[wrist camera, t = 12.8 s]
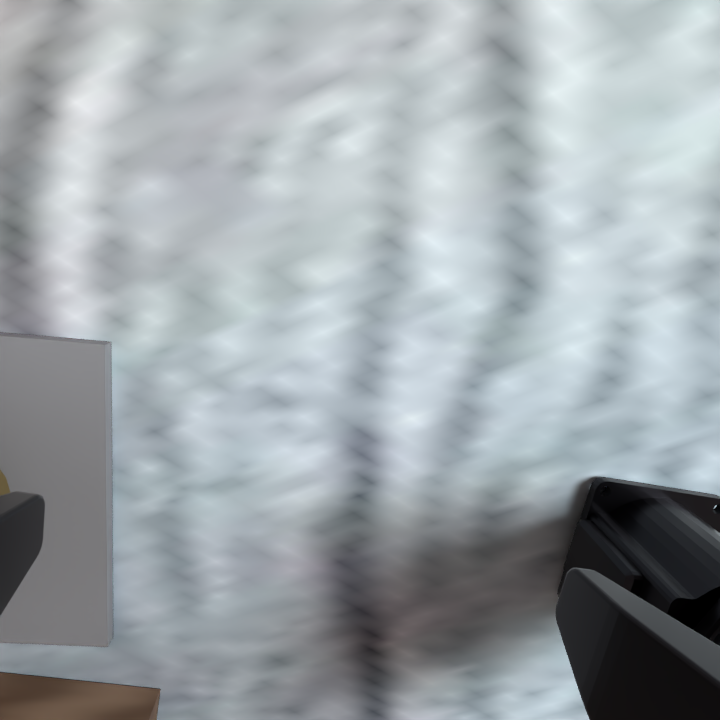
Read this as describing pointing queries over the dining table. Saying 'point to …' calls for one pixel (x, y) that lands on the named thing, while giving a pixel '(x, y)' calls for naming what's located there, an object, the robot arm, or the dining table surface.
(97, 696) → the socket block
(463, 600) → the dining table surface
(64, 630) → the grey mat
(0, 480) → the cork
